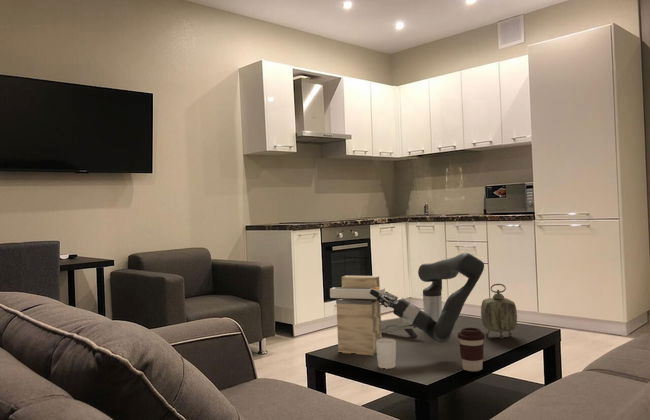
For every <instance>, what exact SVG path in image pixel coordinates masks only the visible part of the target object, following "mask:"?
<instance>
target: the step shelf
mask: <svg viewBox="0 0 650 420" xmlns="http://www.w3.org/2000/svg"><path fill="white" fill-rule="evenodd" d="M341 287H352V288H374V287H380V288H381V286H380V276H379V275H343V276H341ZM335 303H336V322H337V323H336V326H337V328H336V329H337V350H338V351H337V352H342V354H351V353H356V354H355V355H363V356H364V355H366V356H374V355H376V354H377V351H376V340H378V339H383V338H382V333H381V320H382V314H381V313H382V311H381V303H380V302H378V301H377V299H355V298H341V299H335Z"/></svg>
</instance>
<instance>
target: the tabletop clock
mask: <svg viewBox="0 0 650 420" xmlns="http://www.w3.org/2000/svg"><path fill="white" fill-rule="evenodd" d="M494 286H502V287H503V288H504V289H503V290H500V289H497V290H496V291H495V290H493V289H492V288H493V287H494ZM506 290H507V287H506V286H505V285H504V284H502V283H494V284H492V285H491V286H490V291H491V292H492V293H494V294H493V296H492V297H488V298H485V299H483V300H482V302H481V306H480V308H481V309H480V315H481V322H482V323H481V324H482V325H483V327H484V328H485V329H486V330H487V332H486V333H484V334H485V337H489V335H490V334H489V333H490V332H499V334H500V335H499V339H500V340H502V339H504V335H502V334H503V332H504V333H505V332H508V333H507V334H508V336H509V337H511V336H512V332H511V331H514V330H515V329H516V328H517V324H518V323H517V322H518V314H517V313H518V311H517V306H516V303H515V302H514V301H513V300H511V299H509V298H506V297H504V295H503V294H502V293H504V292H505V291H506Z"/></svg>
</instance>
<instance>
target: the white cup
mask: <svg viewBox="0 0 650 420" xmlns="http://www.w3.org/2000/svg"><path fill="white" fill-rule="evenodd" d="M396 344H397V341H396V339H394V338H382V339H378V340H376V351H377V353H376V359H377V366H378V368H380V369H383V368H385V369H386V370H387V369H394V368H395V367H396V359H397V357H396V356H397V345H396Z"/></svg>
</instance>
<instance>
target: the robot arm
mask: <svg viewBox="0 0 650 420" xmlns="http://www.w3.org/2000/svg"><path fill="white" fill-rule="evenodd" d="M484 270H485V263H484V262H483V261H482V260H480V259H479V258H477V257H476V256H475V255H473V254H471V253H468V252H463V253H461V254H458V255H456V256H453V257H449V258H446V259H441V260H438V261H435V262H432V263H431V262H429V263H423V264H421V265H419V267H418V271H417V274H418V278H419V279H420V280H421V281H422V282H424V283H431V284H430V285H428V286H427V287H425V288H424V289H422V302H423V305H422V306H423V310H421V308H419V307H418V306H416V305H414V304H413V303H411V302H410V301H408V300H407V299H404V298H403V297H402V298H400V299H398V298H399V297H398V296H396V295H394V294H392V293H390V292H388V291H385V295H382V294H380V293H378V292H377V291H375V290H373V289H371V291H370V294H371V295H373V296H374V297H376V298H377V301H378V302H380V305H382V306H384V308H391V309H393V311H392V313H393V314H394V315H395V316H397V318H401V319H403V320H405V321H406V322H408V323H410V324H412V325H414V326H416V328H417V329H419V330H421V331H422V332H424V333H425V335H427V336H428V337H430V338H431V339H432V340H434V341H435V342H437V343H441V344H444V343H448V341H449V340H450V339H451V335H452V333H453V330H454V329H455V328H454V327H455V324H456V322H457V320H458V319H459V317H460V314H461V313H462V310H463V307H464V305H465V303H466V300H468V297H469V296H470V294H471V293H472V291H473V290H474V288H475V287H476V284H477V282H478V281H479V279H480V278H481V276H482V274H483V272H484ZM459 274H461V275H463V276H464V277H465V278H467V280H466V282H465V284H464V285H463V286H461V287H460V288H459V289H457V290H456V291H454V292H452V293H451V294H450V295H449V296H448V297H447V299H446V301H445V303H444V304H443V299H442V298H443V297H442V295H443V294H442V291H443V280H451V279H454V278H456V277H457V276H458V275H459ZM381 298H382V299H381Z"/></svg>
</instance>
